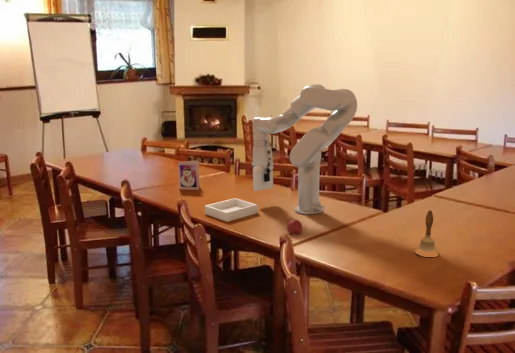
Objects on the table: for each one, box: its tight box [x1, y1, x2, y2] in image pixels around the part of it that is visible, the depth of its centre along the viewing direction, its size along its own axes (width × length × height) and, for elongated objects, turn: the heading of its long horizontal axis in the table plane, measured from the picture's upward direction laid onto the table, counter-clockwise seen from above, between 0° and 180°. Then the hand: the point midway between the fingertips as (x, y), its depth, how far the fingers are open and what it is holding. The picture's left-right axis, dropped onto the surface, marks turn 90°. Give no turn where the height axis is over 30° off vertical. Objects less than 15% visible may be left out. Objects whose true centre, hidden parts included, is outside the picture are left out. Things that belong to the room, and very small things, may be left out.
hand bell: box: [417, 210, 437, 252], centre depth 180 cm, size 8×8×16 cm
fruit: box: [285, 218, 303, 235], centre depth 206 cm, size 6×6×8 cm
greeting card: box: [177, 160, 201, 191], centre depth 278 cm, size 11×7×15 cm, turn 76°
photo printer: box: [252, 165, 274, 192], centre depth 244 cm, size 10×4×12 cm, turn 124°
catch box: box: [204, 197, 259, 222], centre depth 232 cm, size 16×18×4 cm
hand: (263, 180), depth 245 cm, fingers closed on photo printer, 4 cm apart
